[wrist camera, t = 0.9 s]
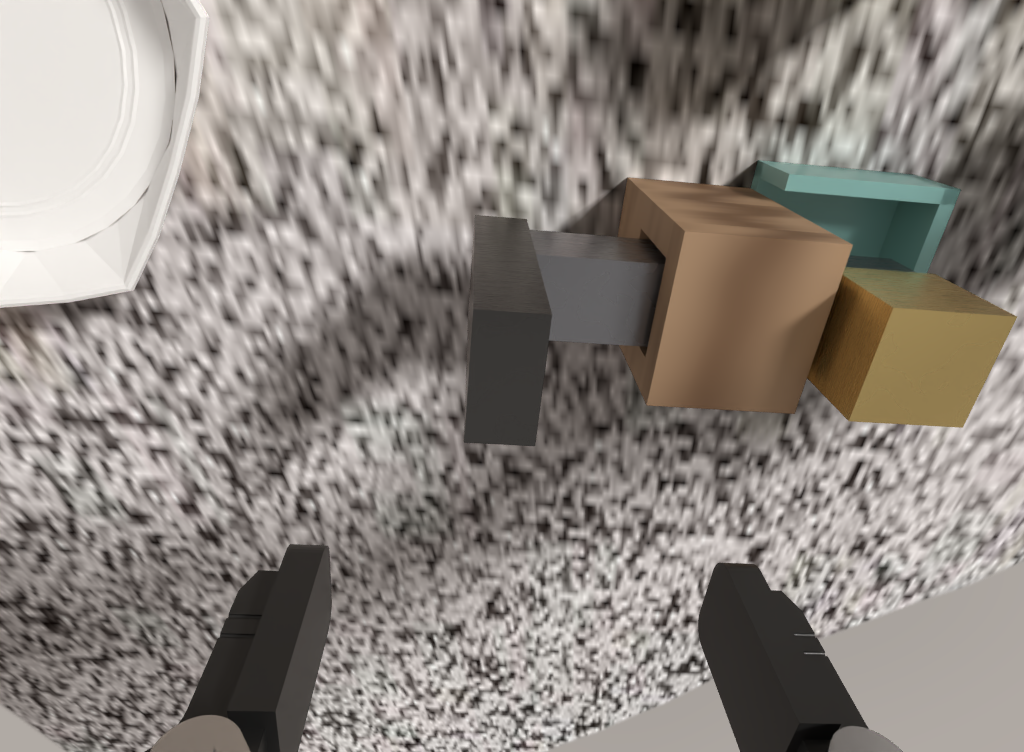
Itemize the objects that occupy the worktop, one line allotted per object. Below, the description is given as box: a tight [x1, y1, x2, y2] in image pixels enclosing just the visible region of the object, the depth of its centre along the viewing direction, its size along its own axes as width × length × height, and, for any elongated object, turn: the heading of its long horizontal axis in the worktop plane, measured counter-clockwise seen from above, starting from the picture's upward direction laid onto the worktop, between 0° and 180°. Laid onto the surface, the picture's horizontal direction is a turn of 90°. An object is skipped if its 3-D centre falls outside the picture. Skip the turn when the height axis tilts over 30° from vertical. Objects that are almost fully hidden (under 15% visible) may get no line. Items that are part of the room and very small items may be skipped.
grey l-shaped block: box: [464, 215, 917, 446], centre depth 27 cm, size 21×5×12 cm, turn 85°
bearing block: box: [617, 178, 853, 414], centre depth 32 cm, size 7×8×11 cm
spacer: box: [807, 267, 1017, 428], centre depth 28 cm, size 5×5×5 cm
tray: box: [751, 160, 961, 273], centre depth 36 cm, size 9×11×4 cm
